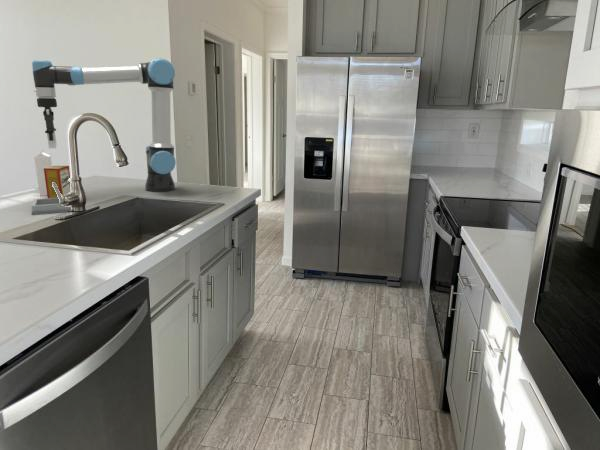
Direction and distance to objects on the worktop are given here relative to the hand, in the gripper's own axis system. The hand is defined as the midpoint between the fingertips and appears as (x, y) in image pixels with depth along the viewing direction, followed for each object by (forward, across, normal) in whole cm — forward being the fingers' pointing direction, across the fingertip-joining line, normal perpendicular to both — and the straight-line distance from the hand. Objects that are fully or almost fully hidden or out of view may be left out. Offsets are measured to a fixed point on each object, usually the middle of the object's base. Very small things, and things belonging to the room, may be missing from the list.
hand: (52, 146), depth 201 cm
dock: (+25, +18, -2) cm, 30 cm away
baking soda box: (+25, 0, 0) cm, 25 cm away
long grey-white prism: (+25, -18, -6) cm, 31 cm away
